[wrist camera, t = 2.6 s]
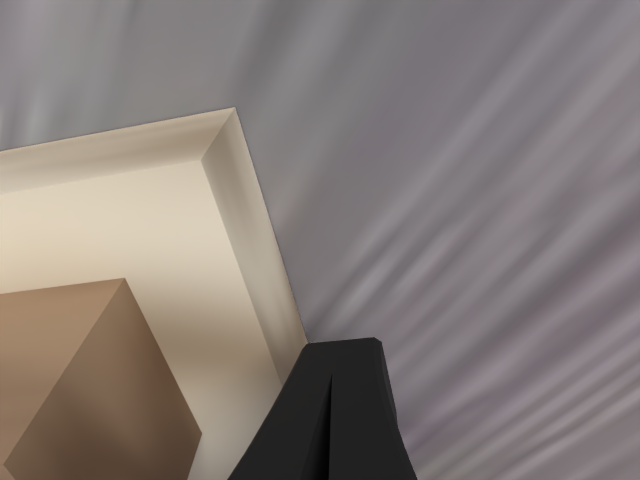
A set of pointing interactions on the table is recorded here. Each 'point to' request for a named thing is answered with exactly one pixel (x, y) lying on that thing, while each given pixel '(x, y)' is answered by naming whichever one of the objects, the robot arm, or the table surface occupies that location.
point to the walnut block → (88, 389)
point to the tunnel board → (166, 258)
